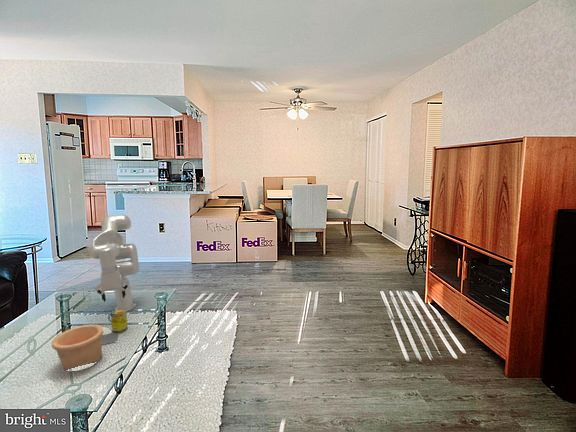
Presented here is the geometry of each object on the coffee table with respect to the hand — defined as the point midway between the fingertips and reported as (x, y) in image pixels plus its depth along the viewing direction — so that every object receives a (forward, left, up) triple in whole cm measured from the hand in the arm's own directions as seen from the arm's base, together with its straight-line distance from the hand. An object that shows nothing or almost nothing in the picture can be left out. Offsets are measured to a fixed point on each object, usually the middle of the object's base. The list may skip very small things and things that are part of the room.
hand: (114, 298), depth 200 cm
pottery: (+23, -15, -21) cm, 35 cm away
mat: (+4, -11, -21) cm, 24 cm away
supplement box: (-3, 0, -21) cm, 21 cm away
